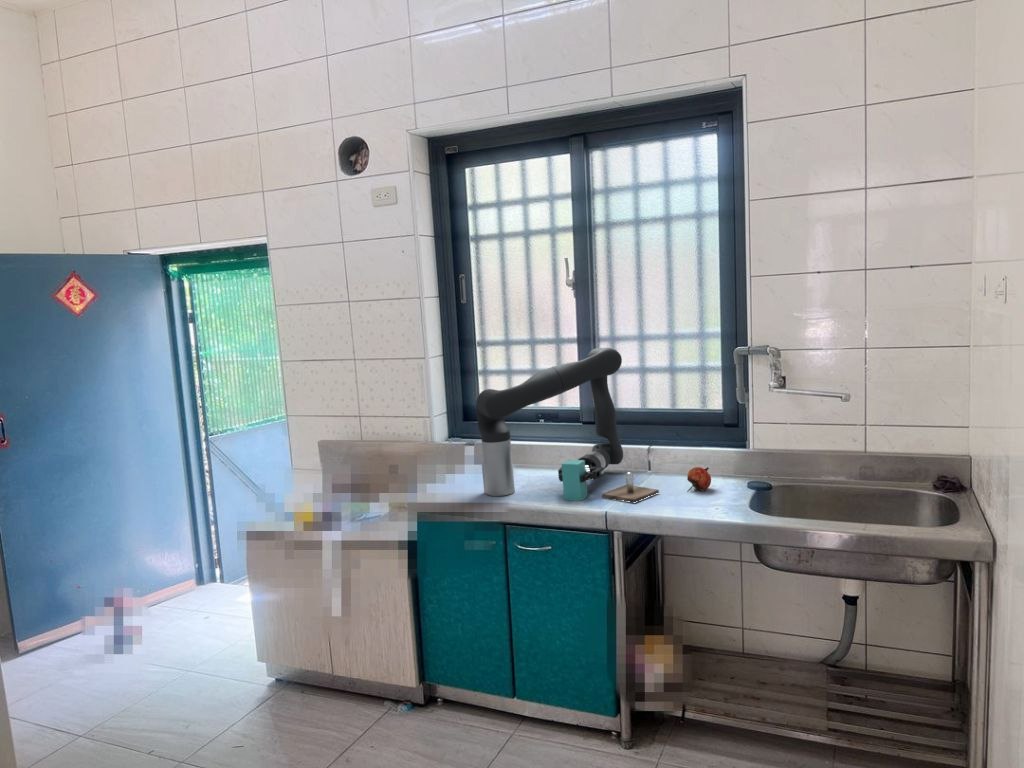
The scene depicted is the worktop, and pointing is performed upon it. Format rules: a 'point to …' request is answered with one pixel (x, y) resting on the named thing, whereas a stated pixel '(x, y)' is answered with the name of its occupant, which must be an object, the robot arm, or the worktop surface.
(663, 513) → the worktop surface
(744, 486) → the worktop surface
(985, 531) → the worktop surface
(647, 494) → the base plate
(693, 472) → the pomegranate
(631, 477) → the post
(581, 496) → the block
